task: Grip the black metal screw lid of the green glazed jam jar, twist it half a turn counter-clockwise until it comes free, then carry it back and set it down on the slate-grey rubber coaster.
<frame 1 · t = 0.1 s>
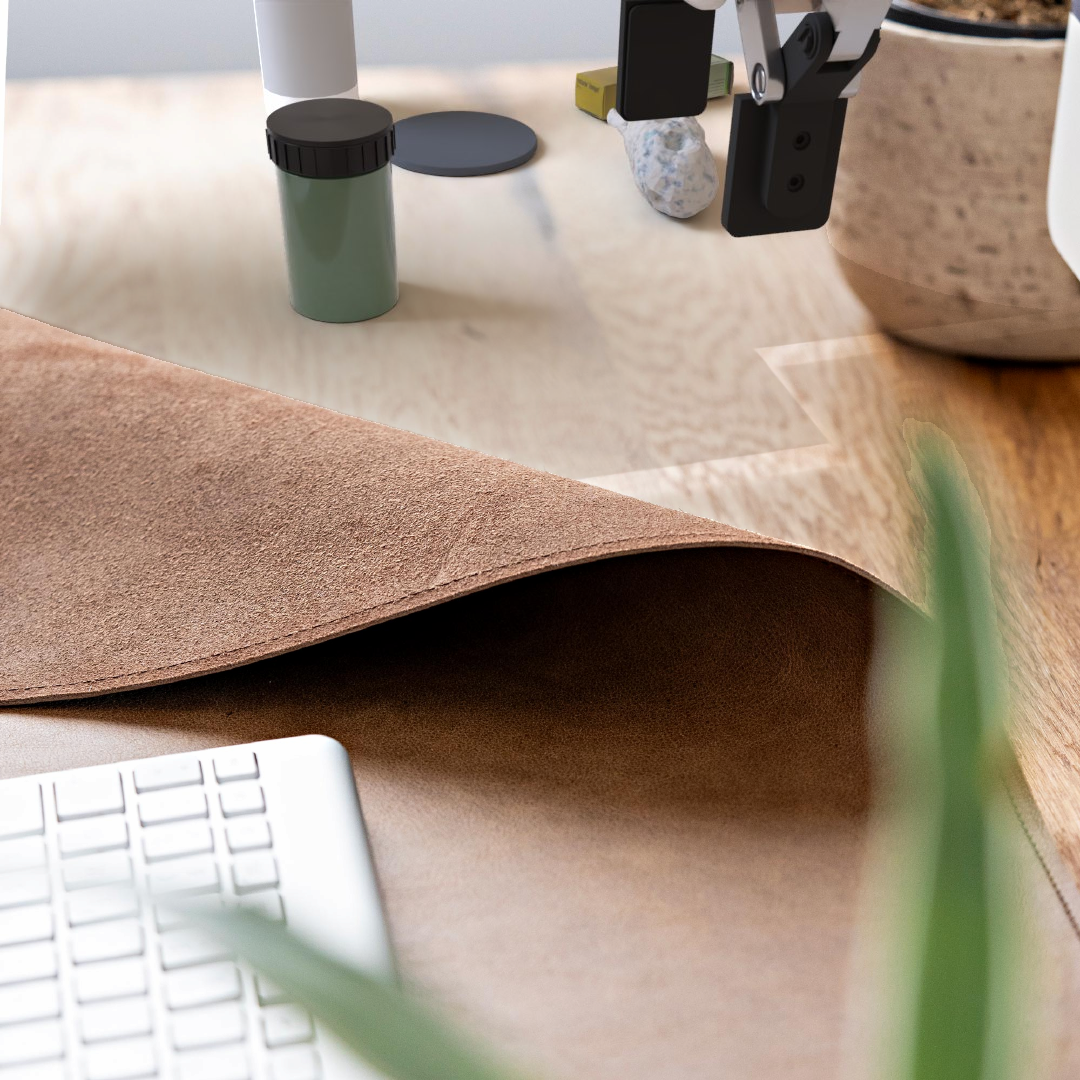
hand: (712, 167, 41), 17 cm above the table, tool pointing down, fingers open, 9 cm apart
jar lid: (330, 124, 65), point 10 cm above the table, screwed on, not yet turned
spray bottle: (313, 114, 95), on the table
coaster: (458, 146, 90), on the table
medication box: (673, 96, 95), point 1 cm above the table
decorative stone: (668, 188, 85), on the table
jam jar: (344, 297, 71), on the table
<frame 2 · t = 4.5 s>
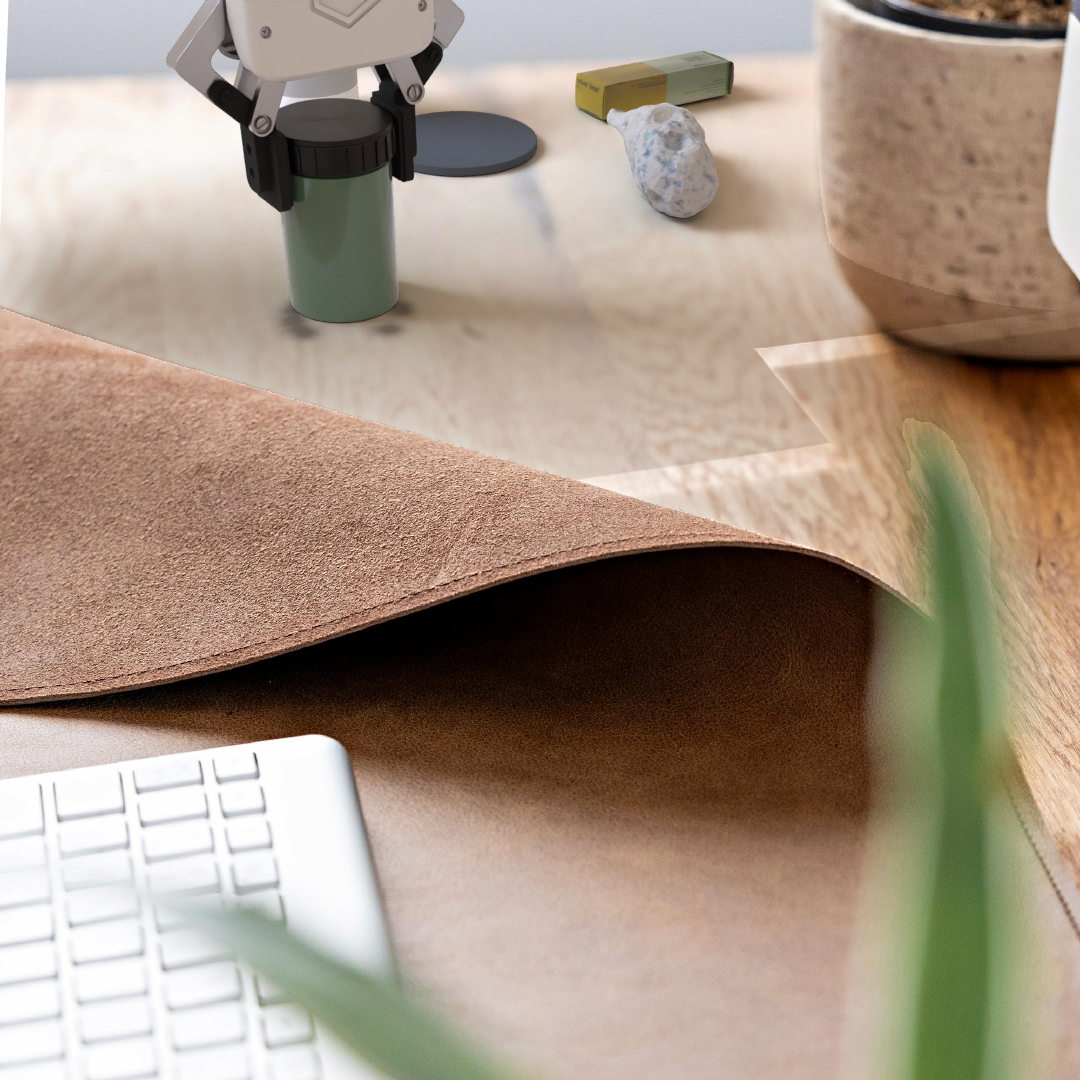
hand: (335, 184, 67), 7 cm above the table, tool pointing down, fingers closed on jar lid, 6 cm apart
jar lid: (330, 124, 65), point 10 cm above the table, screwed on, not yet turned, touching gripper
everything else where it was.
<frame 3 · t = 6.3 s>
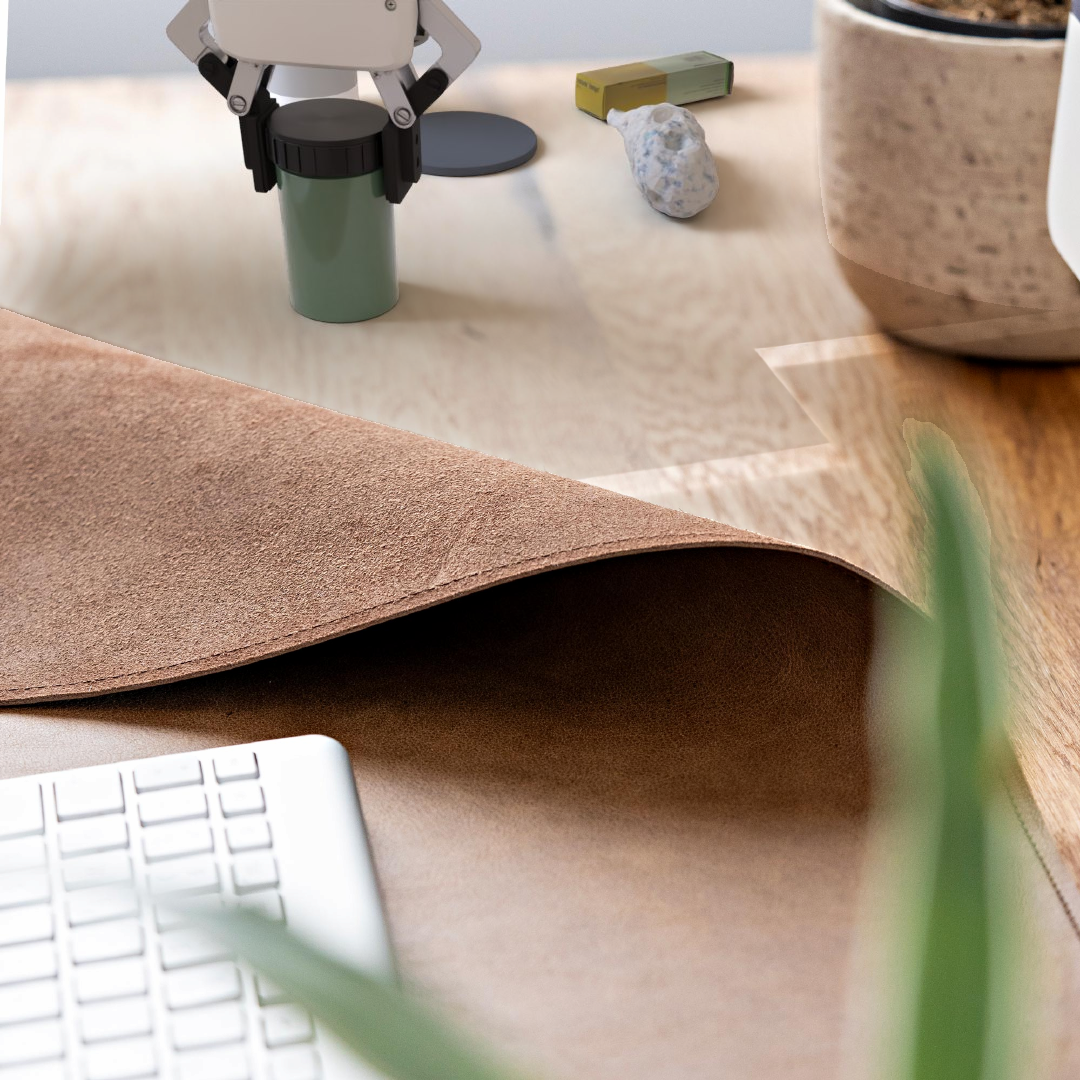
hand: (335, 185, 67), 6 cm above the table, tool pointing down, fingers closed on jar lid, 6 cm apart
jar lid: (329, 124, 65), point 10 cm above the table, off its thread, touching gripper
everything else where it was.
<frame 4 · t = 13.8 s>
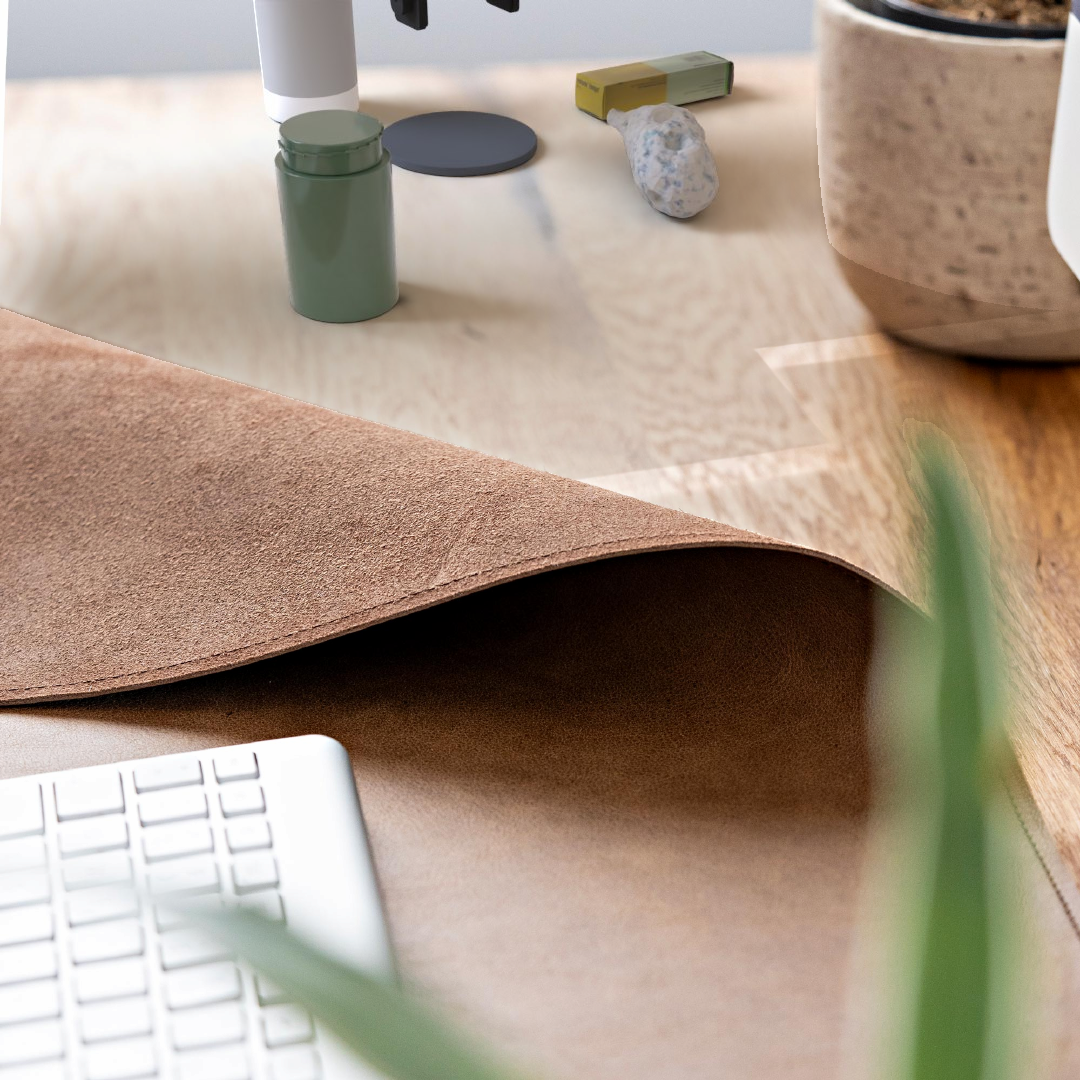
hand: (457, 13, 84), 9 cm above the table, tool pointing down, fingers closed on jar lid, 6 cm apart
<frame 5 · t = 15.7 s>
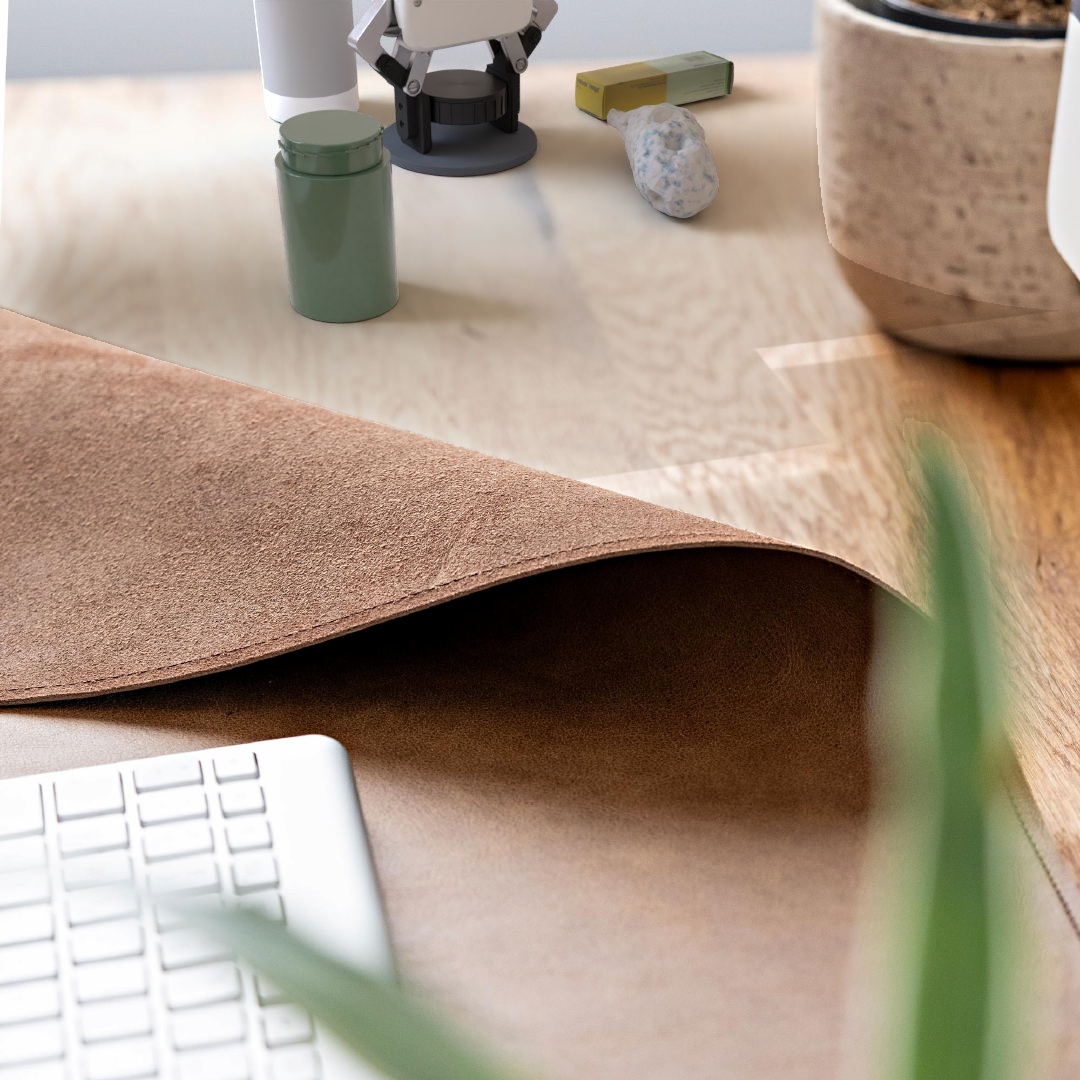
hand: (459, 134, 89), 1 cm above the table, tool pointing down, fingers closed on jar lid, 6 cm apart
jar lid: (459, 87, 87), point 4 cm above the table, off its thread, touching gripper
everything else where it was.
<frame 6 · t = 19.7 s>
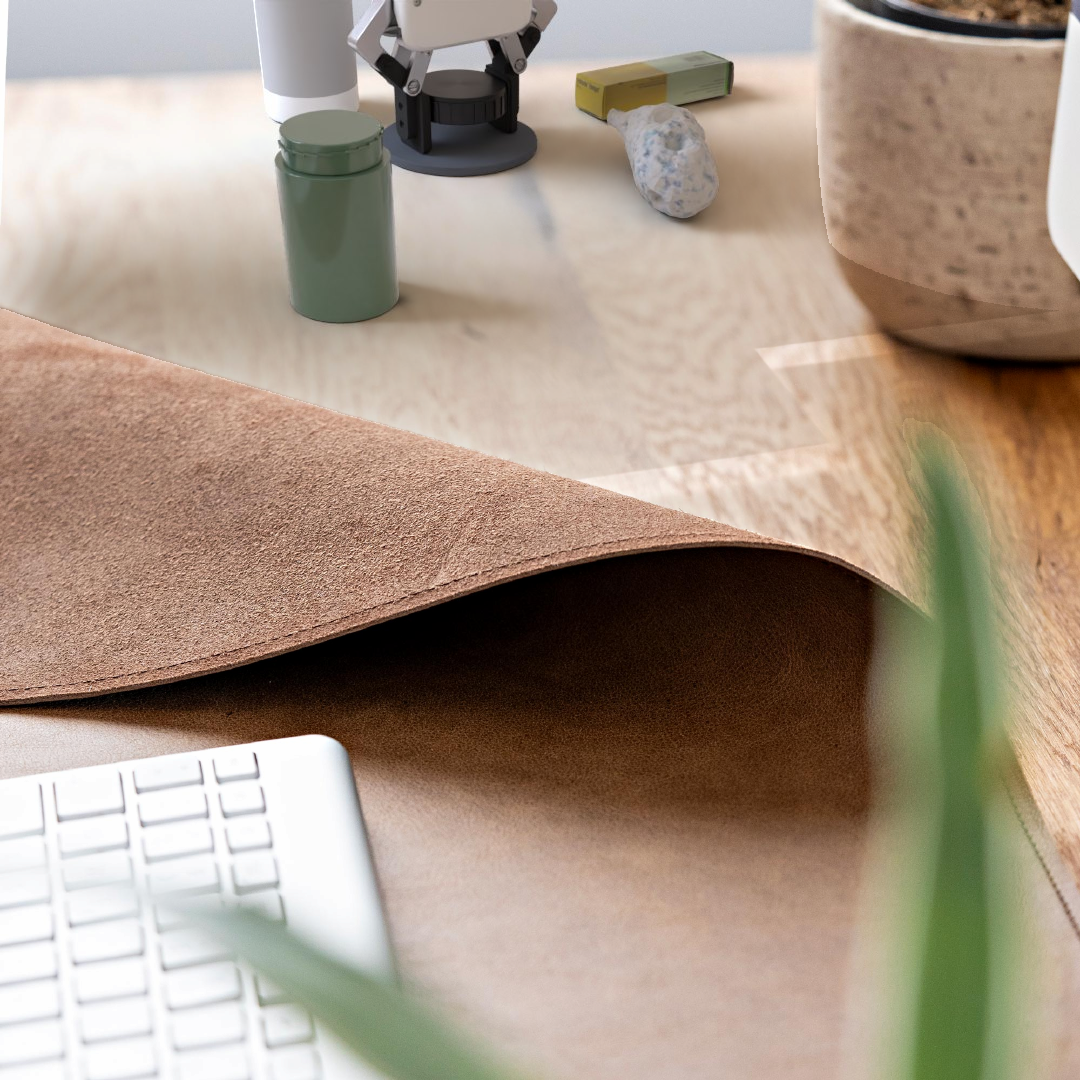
hand: (459, 134, 89), 1 cm above the table, tool pointing down, fingers closed on jar lid, 6 cm apart
jar lid: (458, 87, 87), point 4 cm above the table, off its thread, touching gripper
everything else where it was.
when the fingers open (2 cm above the table, at t = 23.0 s): jar lid drops 3 cm, resting on coaster.
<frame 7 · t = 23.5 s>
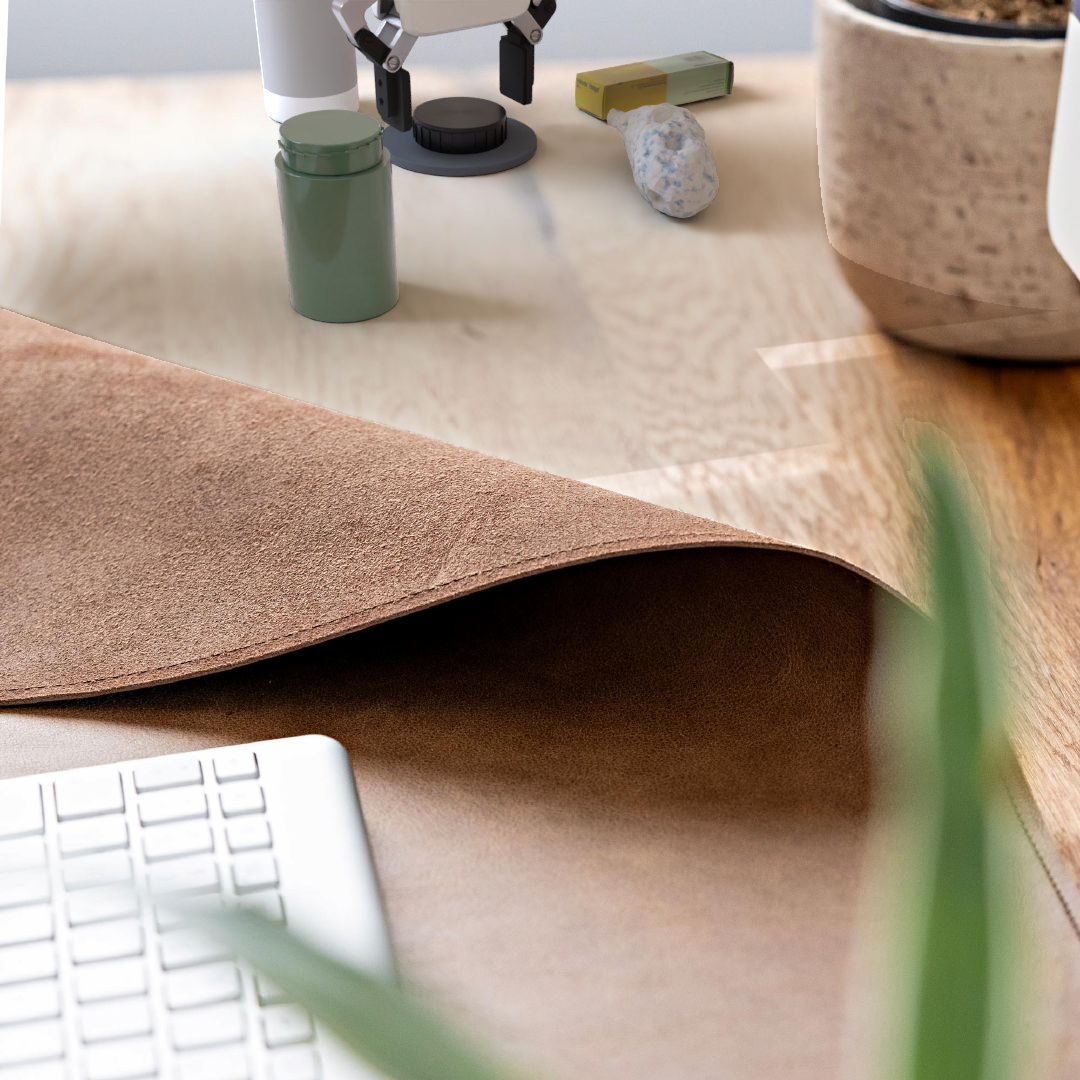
hand: (457, 112, 88), 2 cm above the table, tool pointing down, fingers open, 9 cm apart
jar lid: (459, 116, 88), point 2 cm above the table, off its thread, touching coaster
everything else where it was.
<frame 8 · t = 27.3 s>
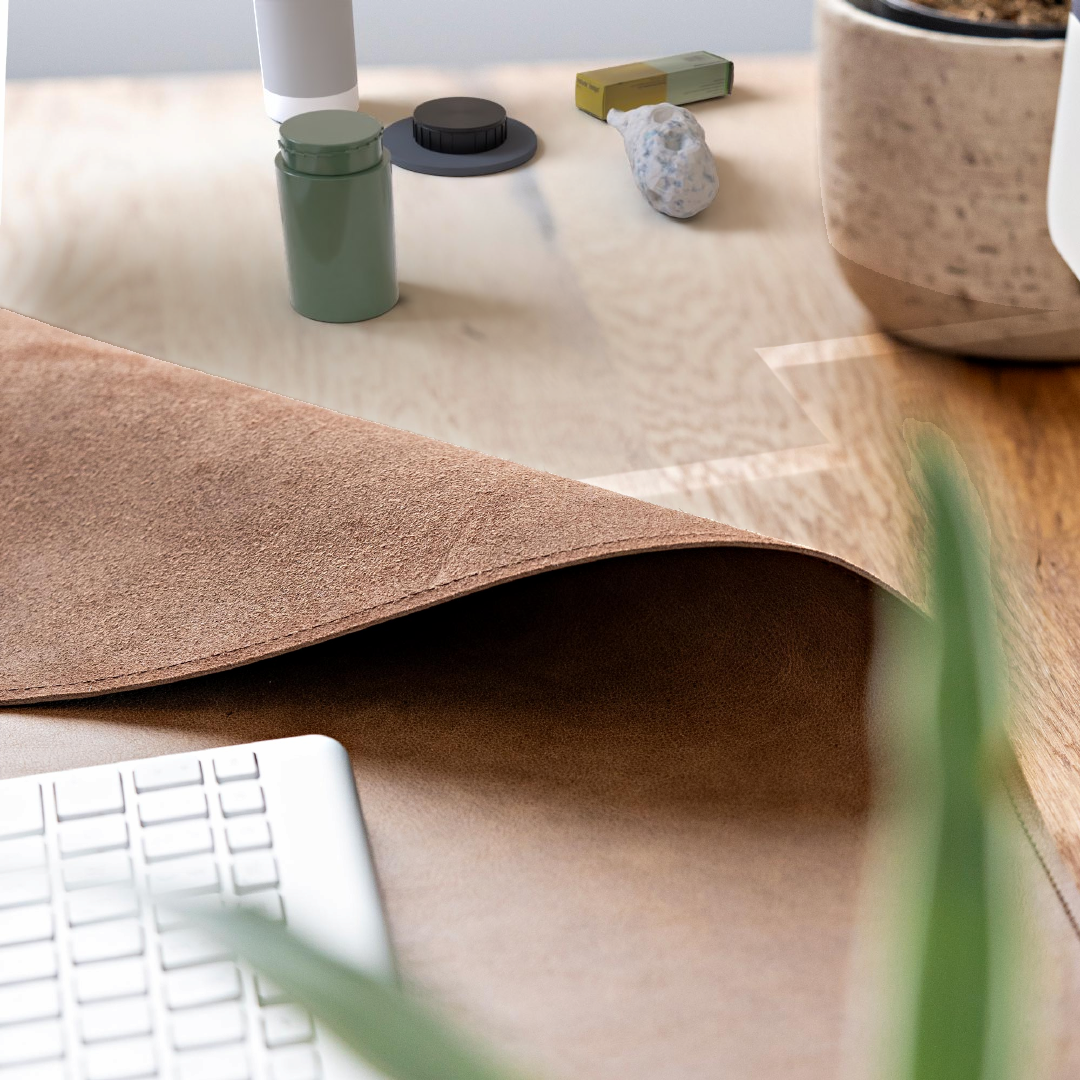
nothing on the table moved.
at the end: jar lid came off its thread; jar lid 0.1 cm off-centre on the coaster, point 2.1 cm above the coaster's base; the gripper is holding nothing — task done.
